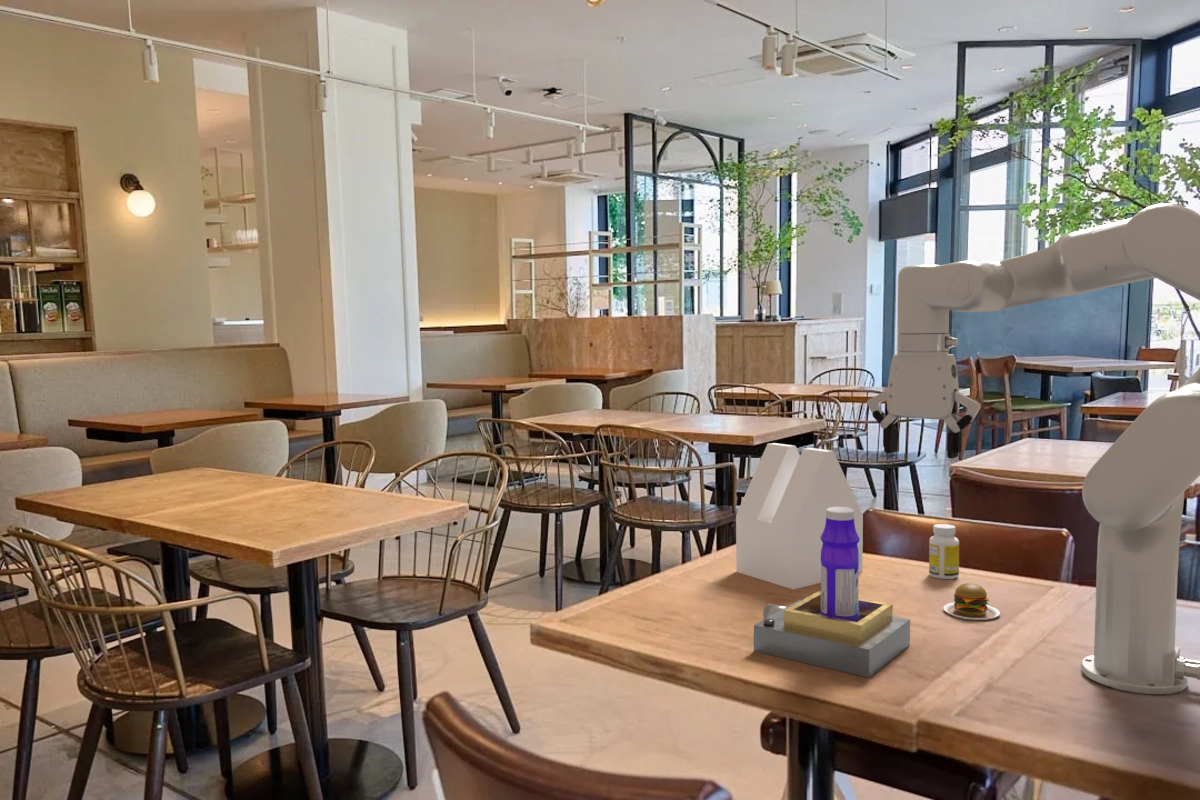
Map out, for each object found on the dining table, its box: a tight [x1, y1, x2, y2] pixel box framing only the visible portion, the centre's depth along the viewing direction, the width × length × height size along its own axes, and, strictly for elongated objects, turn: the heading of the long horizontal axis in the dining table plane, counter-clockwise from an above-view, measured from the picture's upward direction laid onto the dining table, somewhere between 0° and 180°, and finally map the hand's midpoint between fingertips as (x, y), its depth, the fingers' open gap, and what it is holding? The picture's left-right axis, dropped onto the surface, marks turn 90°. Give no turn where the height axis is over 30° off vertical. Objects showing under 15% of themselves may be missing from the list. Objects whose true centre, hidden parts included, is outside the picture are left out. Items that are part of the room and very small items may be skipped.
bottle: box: [820, 507, 860, 622], centre depth 137 cm, size 7×6×17 cm
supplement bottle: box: [928, 523, 960, 580], centre depth 177 cm, size 5×5×10 cm
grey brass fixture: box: [753, 590, 911, 678], centre depth 140 cm, size 22×16×6 cm
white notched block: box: [735, 442, 864, 590], centre depth 181 cm, size 19×15×25 cm
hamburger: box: [942, 582, 1001, 621], centre depth 155 cm, size 12×12×6 cm
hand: (921, 454), depth 144 cm, fingers open, 9 cm apart
